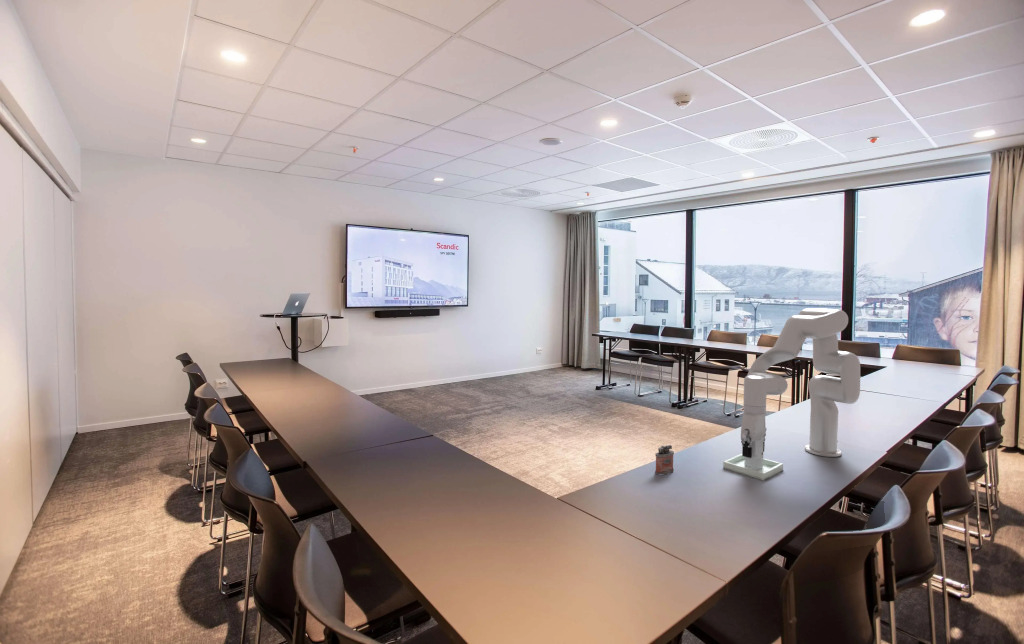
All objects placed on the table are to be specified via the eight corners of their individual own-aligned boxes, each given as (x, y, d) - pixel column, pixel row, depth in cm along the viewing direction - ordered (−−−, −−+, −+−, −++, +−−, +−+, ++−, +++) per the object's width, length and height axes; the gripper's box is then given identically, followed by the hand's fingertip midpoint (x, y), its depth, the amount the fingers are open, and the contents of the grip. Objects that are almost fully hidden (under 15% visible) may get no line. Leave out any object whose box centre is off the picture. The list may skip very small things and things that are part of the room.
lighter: (659, 476, 174) (660, 449, 173) (653, 472, 177) (653, 446, 176) (675, 471, 178) (676, 445, 177) (668, 468, 181) (669, 442, 180)
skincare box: (755, 471, 176) (756, 439, 175) (743, 467, 179) (744, 435, 178) (763, 467, 179) (764, 435, 178) (751, 463, 183) (752, 432, 182)
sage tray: (743, 458, 190) (743, 452, 189) (783, 470, 178) (783, 463, 178) (723, 468, 181) (723, 461, 180) (763, 480, 169) (764, 473, 169)
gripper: (755, 403, 186) (754, 446, 187) (732, 411, 175) (731, 456, 177) (775, 407, 180) (774, 451, 181) (753, 415, 169) (752, 462, 171)
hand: (753, 453), depth 179 cm, fingers open, 9 cm apart
